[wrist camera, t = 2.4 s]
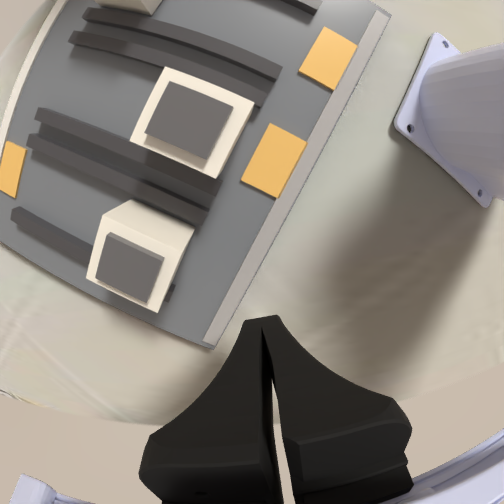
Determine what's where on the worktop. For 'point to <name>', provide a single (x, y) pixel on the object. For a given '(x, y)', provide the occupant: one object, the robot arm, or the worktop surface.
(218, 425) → the robot arm
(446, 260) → the worktop surface
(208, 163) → the switch middle
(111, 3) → the switch
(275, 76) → the console
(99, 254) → the switch
